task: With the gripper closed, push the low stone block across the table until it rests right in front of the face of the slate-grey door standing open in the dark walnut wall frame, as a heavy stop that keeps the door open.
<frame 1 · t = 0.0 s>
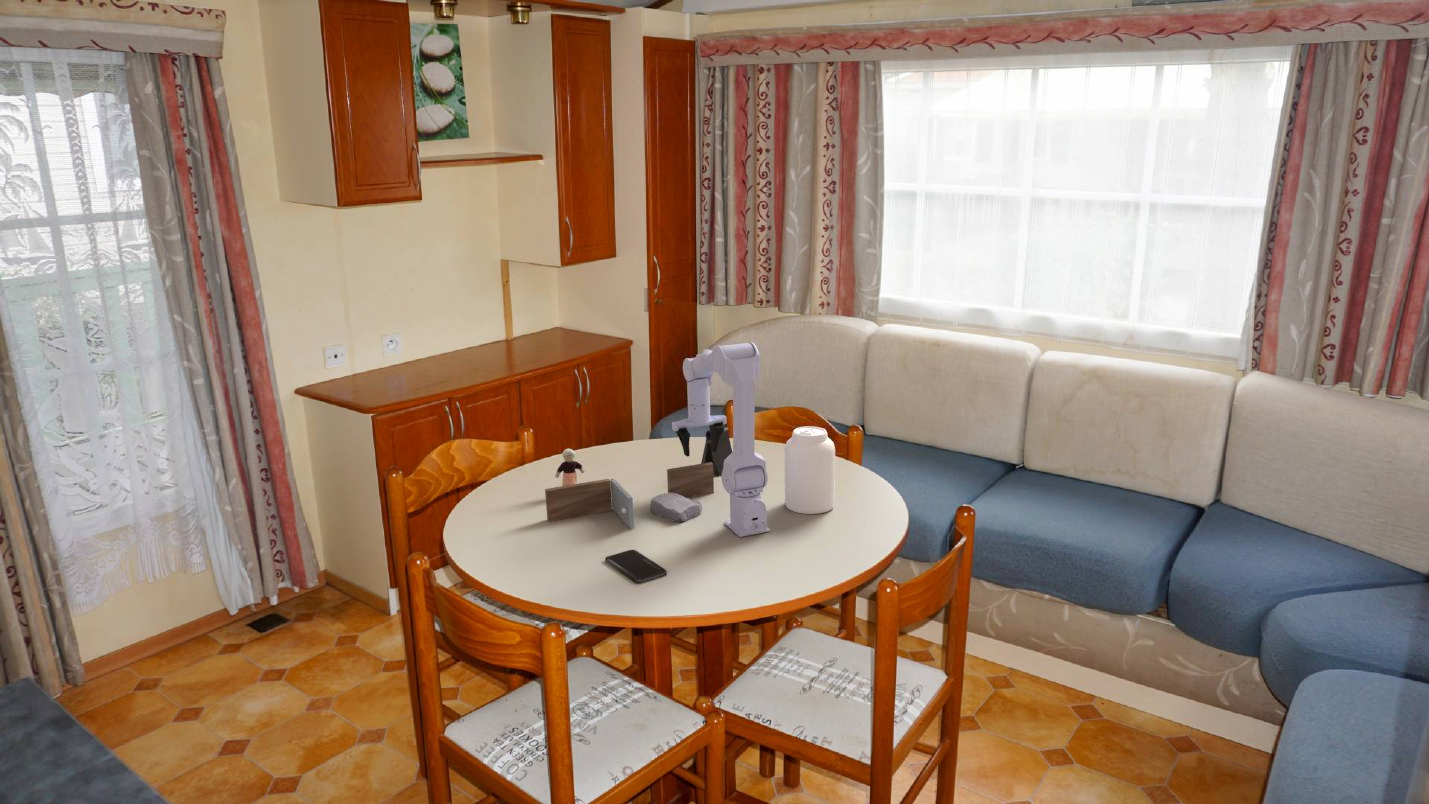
hand: (700, 453, 258), 10 cm above the table, fingers open, 7 cm apart
grandmother figurine: (571, 495, 259), on the table
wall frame: (633, 505, 251), on the table
can: (809, 506, 248), on the table
phone: (635, 569, 215), on the table
stone block: (678, 513, 246), on the table
door: (619, 503, 241), point 4 cm above the table, hinge at 90.0°
phone stand: (718, 470, 275), on the table
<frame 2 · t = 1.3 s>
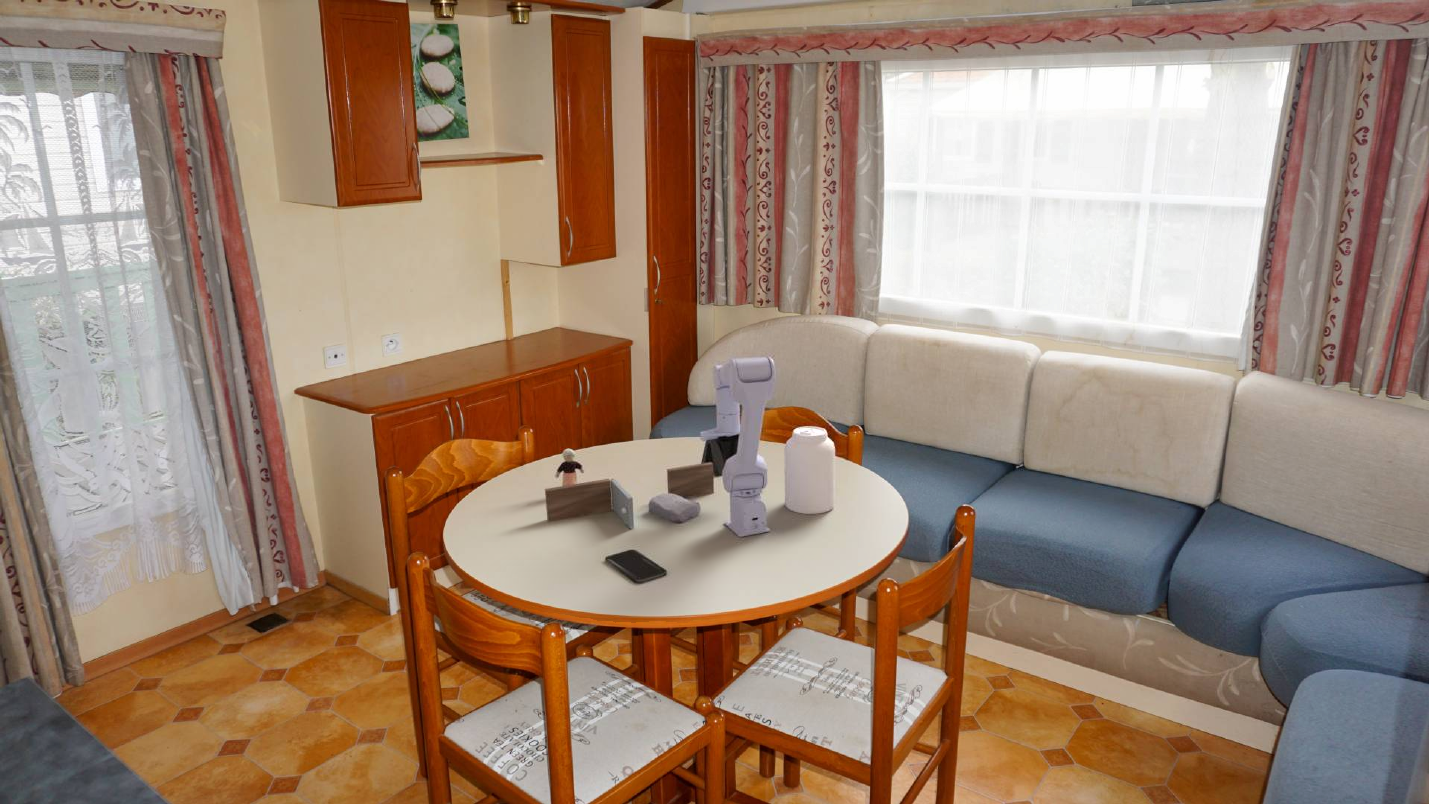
hand: (729, 463, 248), 10 cm above the table, fingers closed
nothing on the table moved.
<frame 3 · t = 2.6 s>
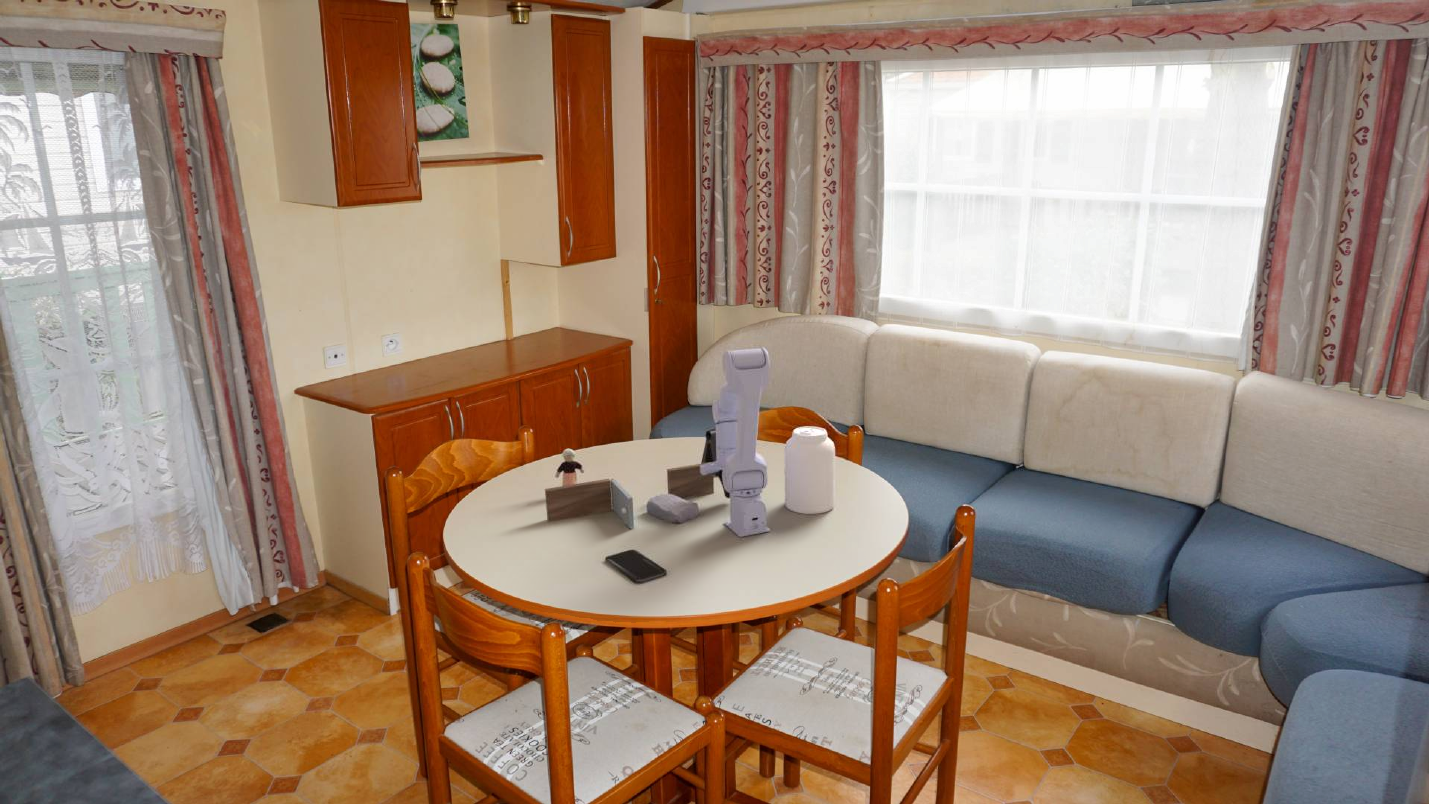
hand: (728, 496, 250), 2 cm above the table, fingers closed
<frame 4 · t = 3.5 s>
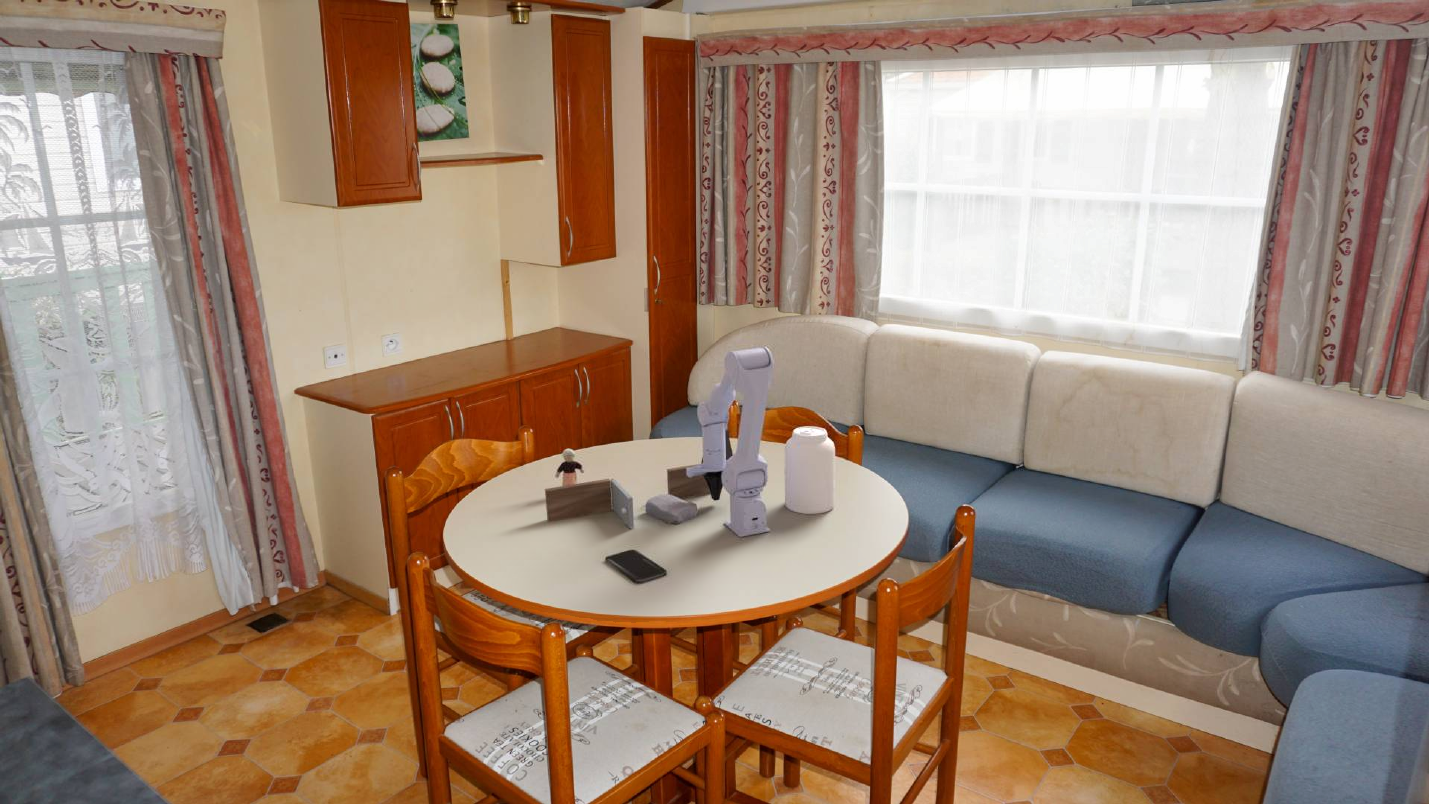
hand: (715, 499, 249), 2 cm above the table, fingers closed
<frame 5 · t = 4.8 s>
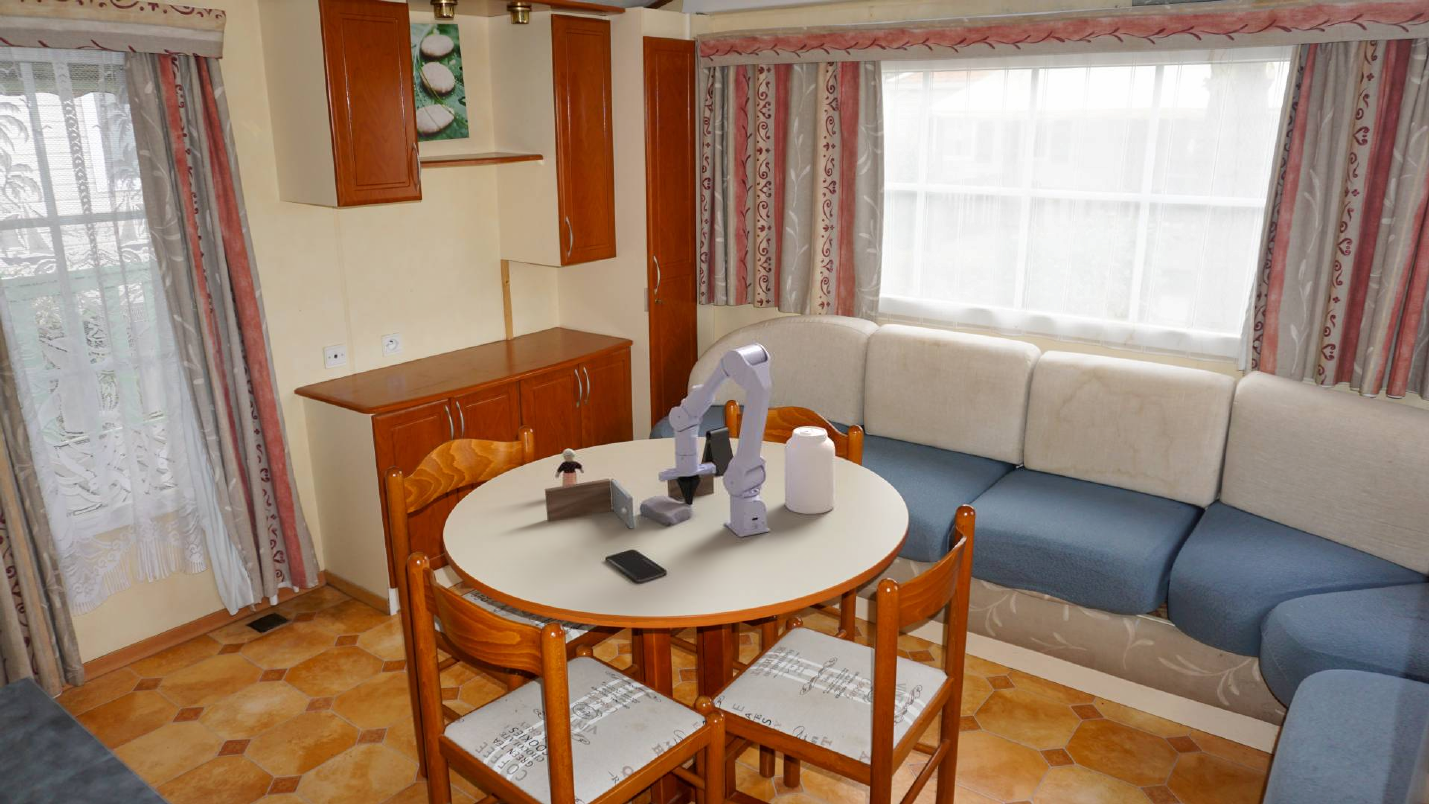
hand: (688, 503, 246), 2 cm above the table, fingers closed
stone block: (668, 517, 244), on the table
everything else where it was.
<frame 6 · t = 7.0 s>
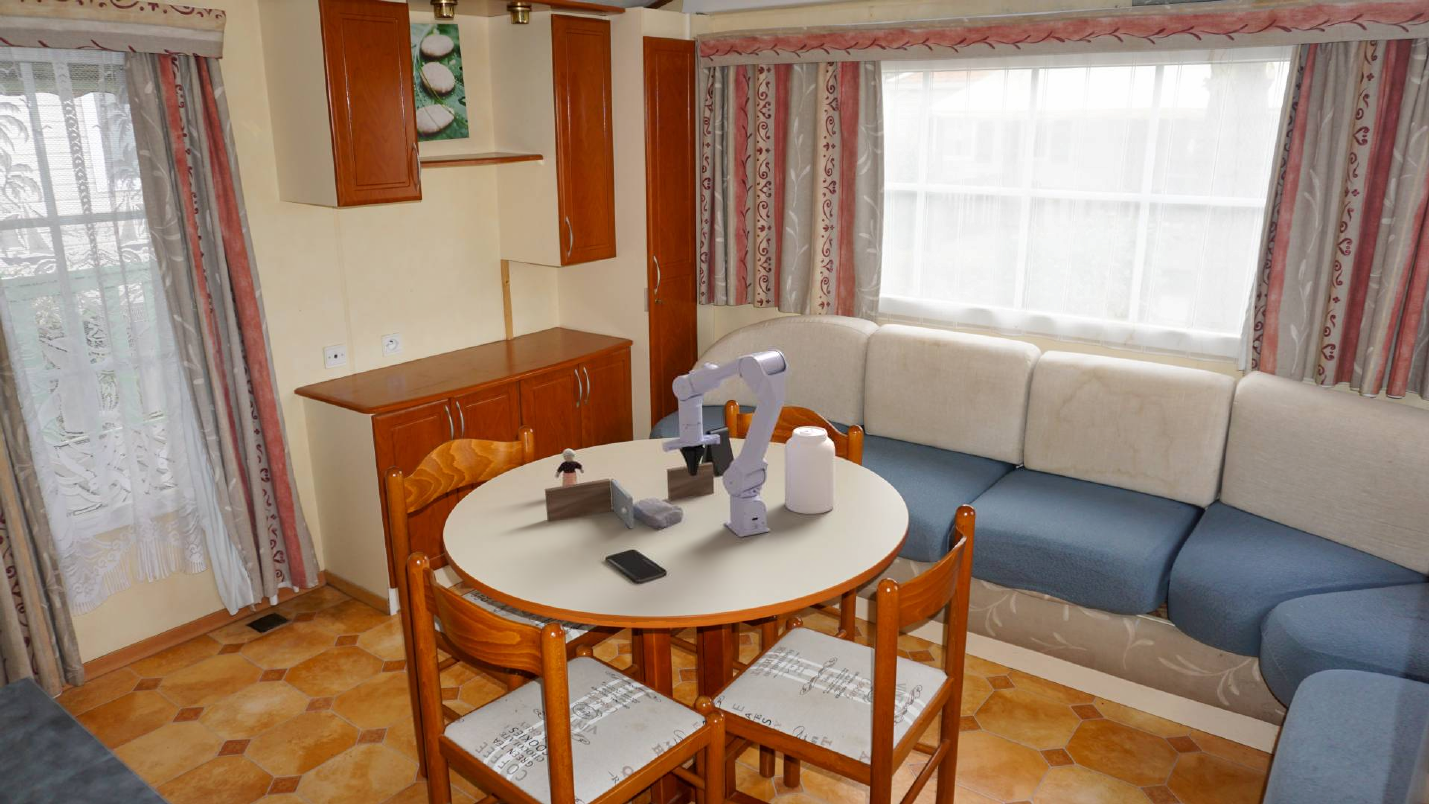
hand: (692, 474, 245), 9 cm above the table, fingers closed
stone block: (659, 519, 242), on the table
everything else where it was.
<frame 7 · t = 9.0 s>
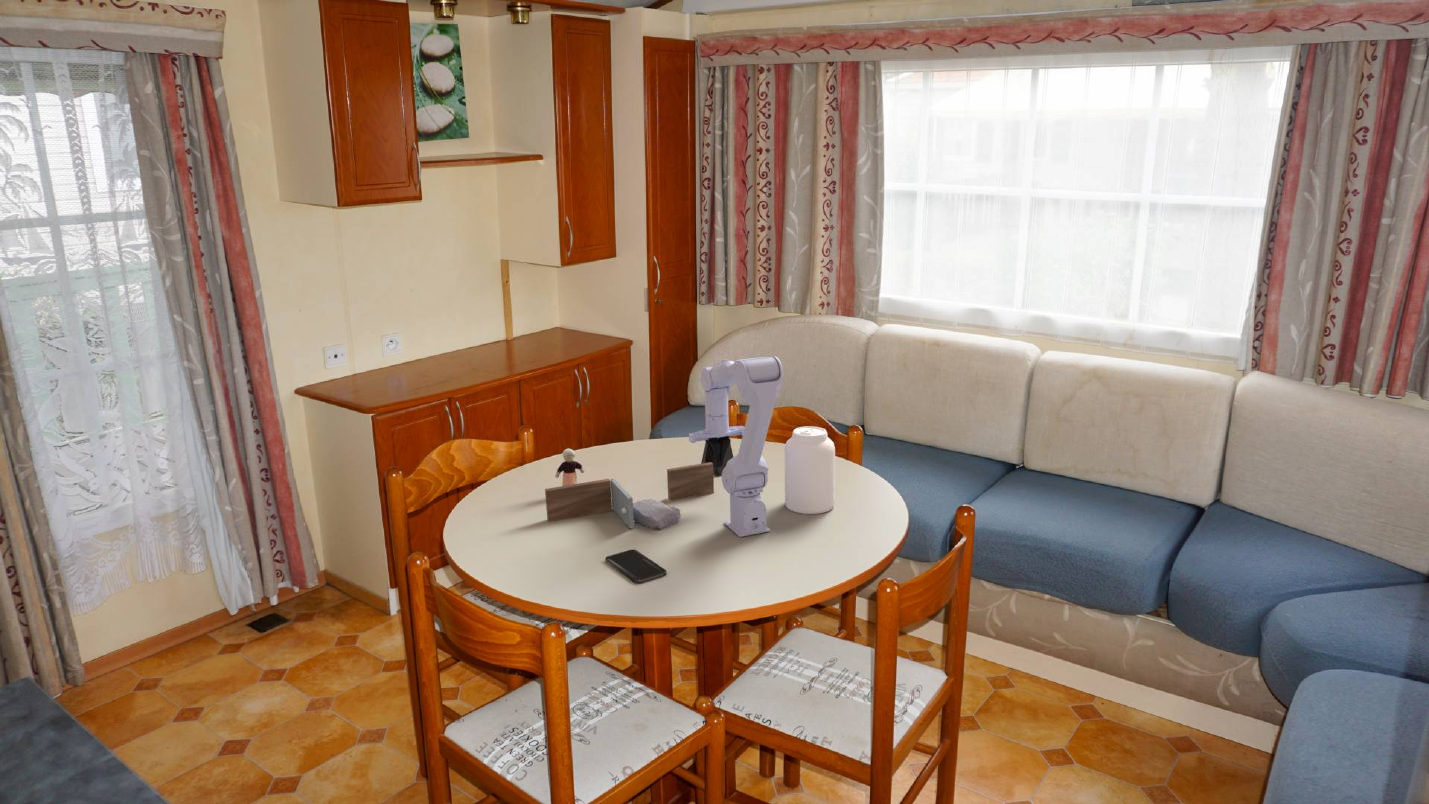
hand: (718, 465, 247), 10 cm above the table, fingers closed
nothing on the table moved.
at the end: stone block inside the target area (2.0 cm from its centre), on the table; stone block tilted 1°; door at +90° (first picture: +90°) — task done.
